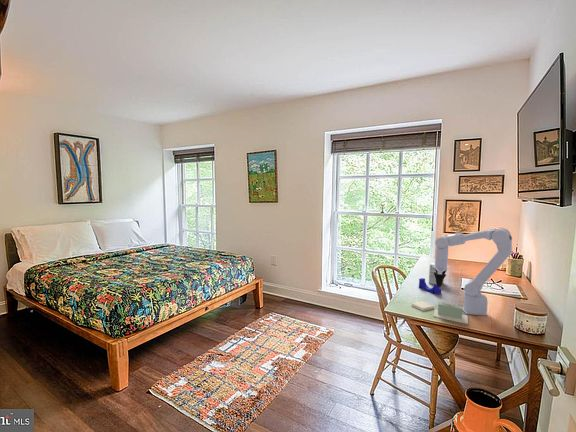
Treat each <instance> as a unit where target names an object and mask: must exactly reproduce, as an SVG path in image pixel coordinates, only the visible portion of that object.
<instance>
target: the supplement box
mask: <svg viewBox="0 0 576 432" xmlns="http://www.w3.org/2000/svg"><path fill="white" fill-rule="evenodd" d="M432 266H435V261H433V262H431V263H430V264H429V271H428V272H429V273H428V284H430V285H434V284H436V278H435V275H434V272H436V270H435V268H432ZM444 280H445V279H444ZM444 280H443V283H442V285H443V284H444Z"/></svg>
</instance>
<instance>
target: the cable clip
mask: <svg viewBox="0 0 576 432" xmlns="http://www.w3.org/2000/svg"><path fill="white" fill-rule="evenodd" d="M418 288H419V289H421V290H424V291H426V292H428V293H430V294H434V295H435V296H437V295H442V288H441V287H439V286H437V285H436V284H433V286H432V287H429V286H428V285H427V282H426V278H424V277H422V278H418Z"/></svg>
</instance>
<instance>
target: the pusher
mask: <svg viewBox="0 0 576 432" xmlns="http://www.w3.org/2000/svg"><path fill="white" fill-rule="evenodd" d="M437 305H438V306H437V307H438V308H437V310H438V314H439V315H444V316H449V317H453V318H458V319H462V315H463V306H461V305H455V304H451V303H445V302H440V301H439V302H438V304H437Z"/></svg>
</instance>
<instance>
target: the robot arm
mask: <svg viewBox="0 0 576 432" xmlns="http://www.w3.org/2000/svg"><path fill="white" fill-rule="evenodd" d="M480 239H484V240H485V239H486V240H488V241H491V240H492V241H493V243H494V244H495V245H496V248H497V252H496V253H495V254H494V255H493V256H492V258H491V259H490V260H489V261H488V262H487V264H485V265H484V267H483V268H482V269H481V270H480V271H479V273H478V274H476V275H475V277H474V278H472V279H470V280H468V282H467V284H465V285H464V288H463V289H464V294H463V295H464V296H463V306H462V307H463V310H462V312H463V313H465V315H475V316H477V315H478V316H488V314H487V313H488V303H489V302H488V298H487V296H486V295H484V294H482V293H481V291H482V289H483V286H484V285H485V283H486V282H487V281H488V280H489V279H490V278H491V276H492V275H494V274H495V272H496V271H497V270H498V269H499V268H500V266H502V264H503V263H504V262H505V261H506V260H507V259H508V258H509V257H510V255H511V254H512V252H513V237H512V234H511V232H510V231H509V230H508V229H506V228H502V227H500V228H492V229H491V228H490V229H484V230H480V231H475V232H472V233H467V234H464V233H462V232H458V231H457V232H454V233H452V234H445V235H443V236H440V237H438V238H436V239H435V242H434V244H435V246H436V247H435V257H434V262H435V266H432V268H435V270H436V272H434V275H435V278H436V285H437V286H439V287H440V288H441V287H442V286H443V284H444V281H443V280H445V277H446V276H447V274H446V273H447V271H448V261H449V260H448V257H449V247H453V246H460V245H461V246H462V245H465V244H466V242H467V241H473V240H474V241H476V240H480ZM442 283H443V284H442Z"/></svg>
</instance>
